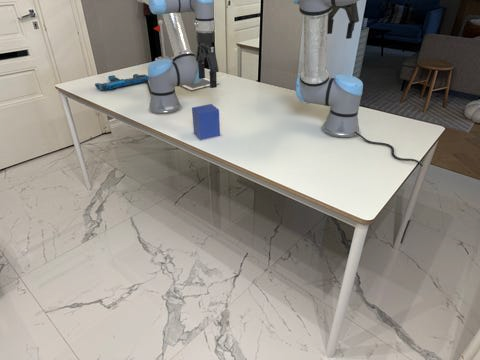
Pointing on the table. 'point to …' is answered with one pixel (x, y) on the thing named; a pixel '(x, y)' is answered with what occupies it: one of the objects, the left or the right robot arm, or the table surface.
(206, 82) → the tablet
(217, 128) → the block
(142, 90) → the table surface
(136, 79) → the submachine gun
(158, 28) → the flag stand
